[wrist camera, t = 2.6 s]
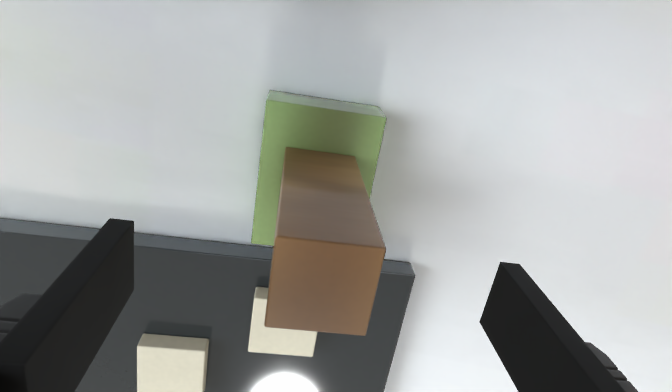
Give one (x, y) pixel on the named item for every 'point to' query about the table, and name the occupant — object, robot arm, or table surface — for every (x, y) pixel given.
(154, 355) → the eraser
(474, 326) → the table surface
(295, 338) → the eraser
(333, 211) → the scrub brush
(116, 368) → the slate
